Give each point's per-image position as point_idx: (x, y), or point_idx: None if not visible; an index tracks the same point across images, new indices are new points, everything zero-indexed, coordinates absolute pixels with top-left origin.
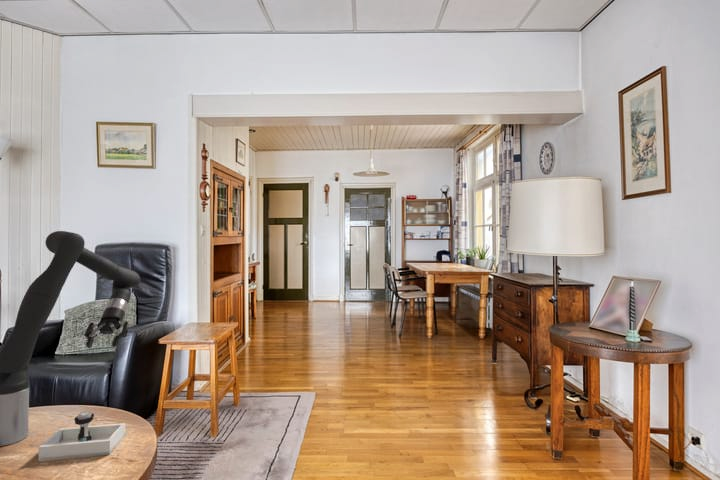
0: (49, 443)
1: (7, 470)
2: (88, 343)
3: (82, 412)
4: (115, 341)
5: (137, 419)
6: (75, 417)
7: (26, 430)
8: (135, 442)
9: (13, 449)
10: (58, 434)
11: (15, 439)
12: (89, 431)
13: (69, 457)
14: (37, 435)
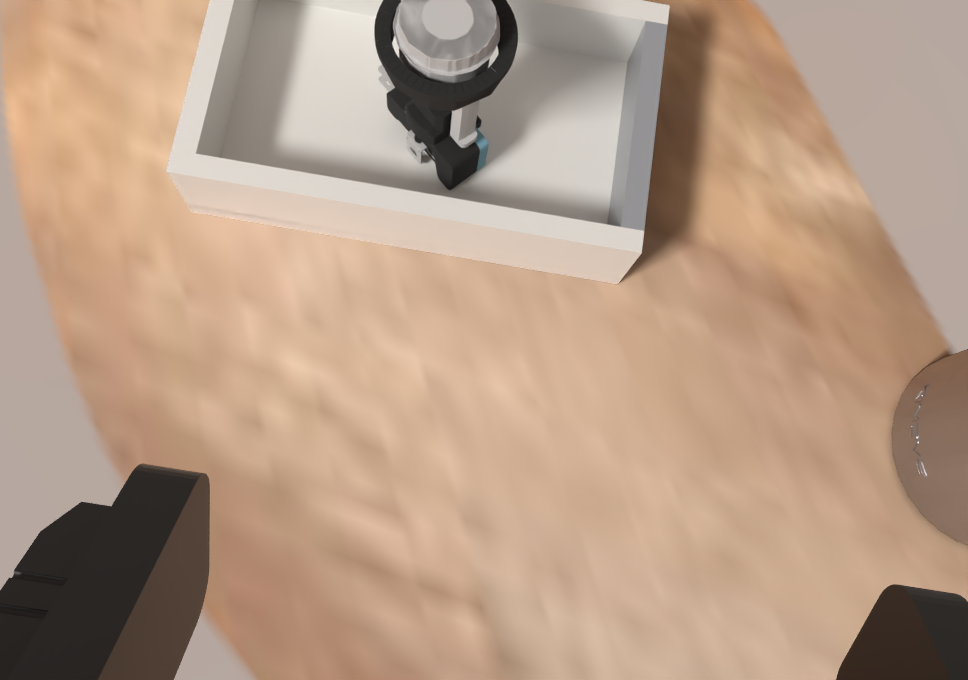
0: (634, 81)
1: (768, 24)
2: (963, 639)
3: (474, 52)
4: (76, 576)
5: None
6: (516, 45)
7: (920, 434)
8: (108, 88)
9: (878, 281)
10: (625, 176)
11: (932, 368)
12: (407, 107)
13: None
14: (830, 456)
